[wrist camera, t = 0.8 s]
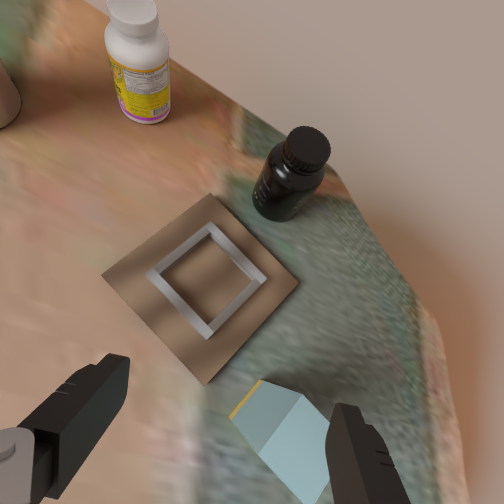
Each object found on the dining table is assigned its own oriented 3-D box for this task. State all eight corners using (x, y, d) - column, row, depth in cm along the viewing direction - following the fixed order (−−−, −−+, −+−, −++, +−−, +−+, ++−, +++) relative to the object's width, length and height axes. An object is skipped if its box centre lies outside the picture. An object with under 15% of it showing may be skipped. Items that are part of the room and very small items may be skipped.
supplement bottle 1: (123, 83, 40) (101, -27, 29) (172, 92, 42) (170, -8, 30) (116, 122, 38) (90, 21, 26) (168, 130, 40) (165, 38, 28)
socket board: (103, 277, 32) (97, 271, 29) (209, 197, 38) (211, 186, 36) (203, 385, 31) (205, 388, 28) (295, 284, 37) (303, 280, 35)
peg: (228, 416, 31) (257, 454, 20) (259, 379, 33) (302, 394, 22) (261, 452, 30) (310, 511, 19) (291, 412, 32) (350, 444, 21)
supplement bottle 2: (292, 179, 42) (333, 119, 31) (301, 222, 40) (348, 174, 29) (247, 179, 40) (274, 115, 29) (254, 224, 38) (285, 173, 27)
